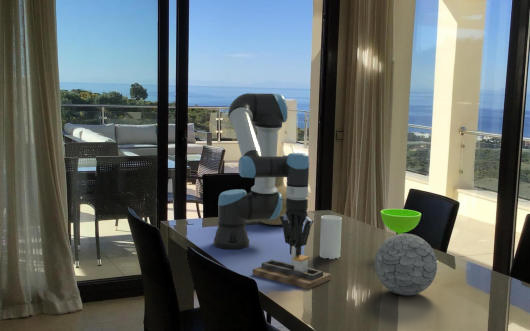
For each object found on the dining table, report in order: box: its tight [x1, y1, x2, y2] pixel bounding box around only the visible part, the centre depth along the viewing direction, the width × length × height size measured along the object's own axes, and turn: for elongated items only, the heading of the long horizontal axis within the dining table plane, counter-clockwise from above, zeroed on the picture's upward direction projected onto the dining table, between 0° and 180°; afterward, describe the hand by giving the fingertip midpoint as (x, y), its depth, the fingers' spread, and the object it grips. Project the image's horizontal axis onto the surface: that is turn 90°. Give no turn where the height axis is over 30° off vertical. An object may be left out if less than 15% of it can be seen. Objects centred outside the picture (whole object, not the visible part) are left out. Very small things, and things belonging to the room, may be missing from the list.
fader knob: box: [293, 254, 310, 273], centre depth 204 cm, size 3×5×6 cm
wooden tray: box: [252, 259, 332, 290], centre depth 206 cm, size 24×14×4 cm, turn 53°
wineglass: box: [380, 208, 422, 235], centre depth 236 cm, size 16×16×18 cm
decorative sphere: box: [374, 232, 438, 296], centre depth 190 cm, size 20×20×20 cm
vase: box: [259, 177, 289, 226], centre depth 290 cm, size 22×22×30 cm
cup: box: [319, 214, 343, 260], centre depth 234 cm, size 8×8×16 cm
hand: (295, 264), depth 205 cm, fingers closed
